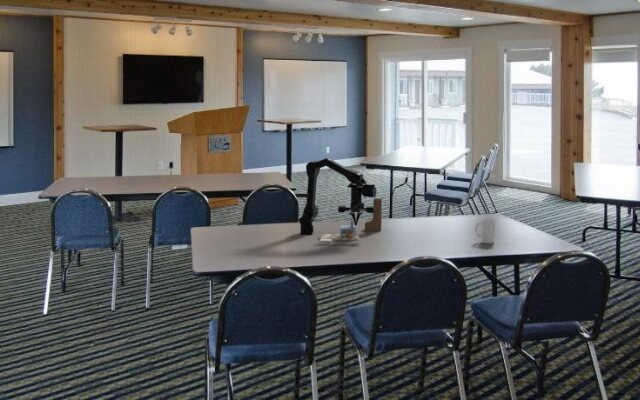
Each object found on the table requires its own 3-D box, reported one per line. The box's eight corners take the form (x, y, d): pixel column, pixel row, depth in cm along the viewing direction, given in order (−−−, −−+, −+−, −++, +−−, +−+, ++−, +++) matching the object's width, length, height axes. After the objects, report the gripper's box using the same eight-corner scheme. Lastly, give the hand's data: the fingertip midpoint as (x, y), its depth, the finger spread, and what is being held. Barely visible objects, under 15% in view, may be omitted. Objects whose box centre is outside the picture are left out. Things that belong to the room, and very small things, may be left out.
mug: (493, 241, 378) (494, 218, 376) (495, 243, 372) (496, 220, 370) (473, 240, 379) (474, 218, 377) (475, 243, 372) (476, 220, 371)
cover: (340, 237, 381) (340, 222, 379) (341, 234, 389) (341, 219, 388) (355, 237, 380) (355, 222, 379) (356, 234, 388) (356, 220, 387)
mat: (320, 241, 375) (320, 240, 375) (320, 239, 380) (320, 238, 380) (330, 241, 374) (330, 240, 374) (331, 239, 380) (331, 238, 380)
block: (345, 238, 383) (345, 229, 382) (346, 237, 387) (346, 228, 386) (353, 239, 382) (353, 229, 382) (353, 237, 386) (353, 228, 385)
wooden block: (364, 230, 404) (365, 198, 402) (365, 229, 409) (365, 197, 406) (380, 231, 403) (381, 199, 400) (381, 229, 408) (381, 198, 405)
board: (318, 239, 381) (318, 237, 381) (320, 235, 391) (320, 234, 391) (358, 240, 379) (358, 238, 379) (359, 236, 389) (359, 234, 389)
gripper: (337, 198, 374) (337, 227, 376) (373, 198, 372) (373, 228, 374) (338, 195, 385) (338, 223, 387) (374, 195, 383) (373, 224, 385)
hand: (355, 225), depth 383 cm, fingers closed
